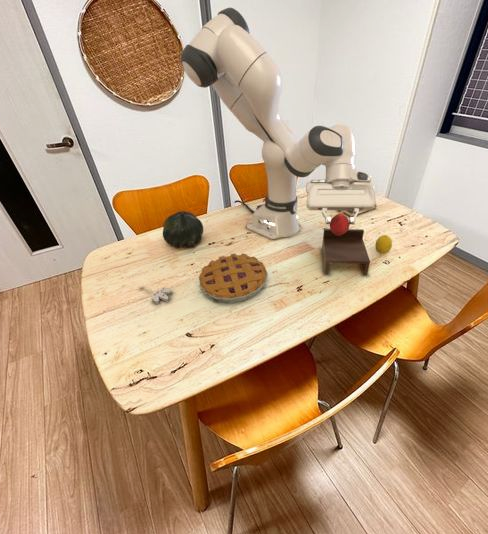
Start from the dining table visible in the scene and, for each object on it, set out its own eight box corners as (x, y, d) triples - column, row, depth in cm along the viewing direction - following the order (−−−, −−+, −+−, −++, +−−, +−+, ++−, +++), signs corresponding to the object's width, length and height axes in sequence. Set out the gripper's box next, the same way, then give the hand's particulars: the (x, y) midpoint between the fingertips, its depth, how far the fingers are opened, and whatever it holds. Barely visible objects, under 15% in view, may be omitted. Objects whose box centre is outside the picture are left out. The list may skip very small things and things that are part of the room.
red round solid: (336, 242, 83) (339, 218, 78) (325, 233, 87) (327, 210, 82) (351, 237, 85) (355, 213, 80) (340, 228, 89) (342, 205, 84)
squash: (165, 221, 113) (156, 206, 99) (202, 218, 116) (199, 203, 102) (168, 255, 111) (160, 244, 96) (206, 250, 114) (204, 239, 100)
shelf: (321, 249, 105) (323, 228, 99) (359, 250, 104) (363, 229, 99) (324, 274, 93) (327, 252, 88) (366, 275, 92) (372, 253, 87)
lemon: (389, 259, 99) (395, 240, 94) (373, 257, 100) (378, 238, 95) (388, 250, 104) (393, 231, 99) (372, 248, 105) (377, 230, 100)
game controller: (165, 305, 83) (163, 299, 82) (131, 301, 85) (128, 295, 84) (174, 292, 88) (172, 286, 86) (141, 289, 89) (139, 282, 88)
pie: (194, 272, 95) (191, 261, 92) (254, 256, 102) (253, 245, 99) (209, 316, 80) (206, 303, 77) (278, 293, 86) (278, 281, 83)
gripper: (306, 175, 82) (305, 220, 80) (377, 174, 80) (377, 221, 79) (305, 184, 88) (305, 226, 87) (371, 183, 87) (371, 227, 85)
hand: (340, 223), depth 83 cm, fingers closed on red round solid, 6 cm apart
